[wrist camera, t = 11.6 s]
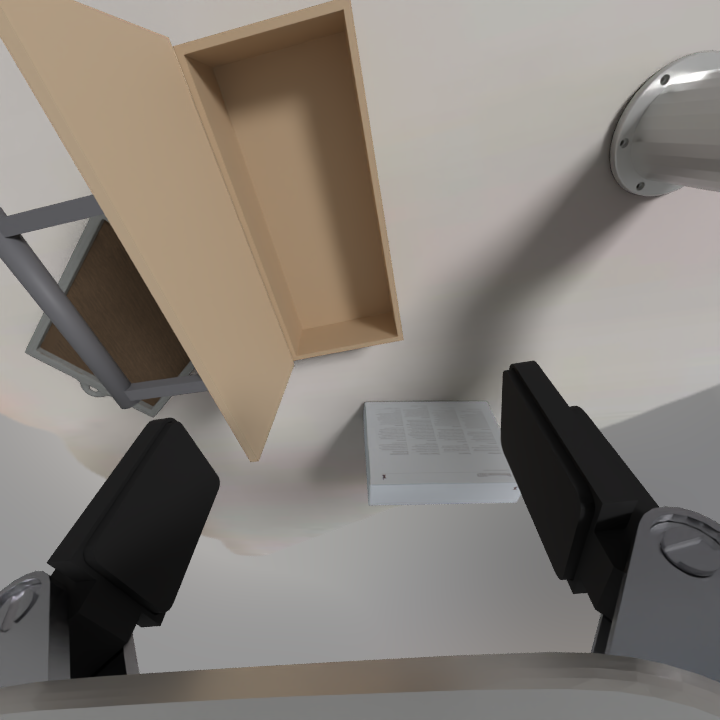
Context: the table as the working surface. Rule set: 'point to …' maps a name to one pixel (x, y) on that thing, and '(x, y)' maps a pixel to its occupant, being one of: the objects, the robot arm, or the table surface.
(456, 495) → the skincare box
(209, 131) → the mailer box
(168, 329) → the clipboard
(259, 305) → the lid
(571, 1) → the table surface
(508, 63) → the table surface
